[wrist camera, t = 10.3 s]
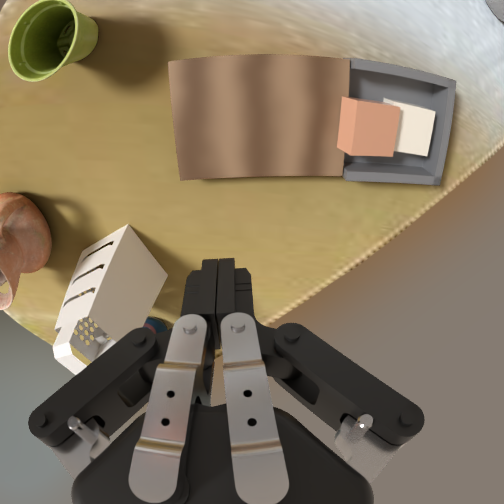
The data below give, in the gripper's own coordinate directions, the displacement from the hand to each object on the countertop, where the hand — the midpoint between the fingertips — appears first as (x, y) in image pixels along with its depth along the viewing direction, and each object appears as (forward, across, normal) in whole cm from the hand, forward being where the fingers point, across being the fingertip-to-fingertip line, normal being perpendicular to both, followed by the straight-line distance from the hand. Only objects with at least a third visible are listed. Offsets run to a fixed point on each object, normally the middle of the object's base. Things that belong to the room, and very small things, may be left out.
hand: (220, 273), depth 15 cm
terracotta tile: (+21, -15, -3) cm, 26 cm away
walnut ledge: (+24, -4, -4) cm, 25 cm away
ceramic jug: (+26, +35, +8) cm, 44 cm away
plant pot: (+25, +18, -17) cm, 35 cm away
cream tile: (+23, -22, -3) cm, 32 cm away
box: (+24, -20, -4) cm, 31 cm away
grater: (+25, +18, +17) cm, 35 cm away
